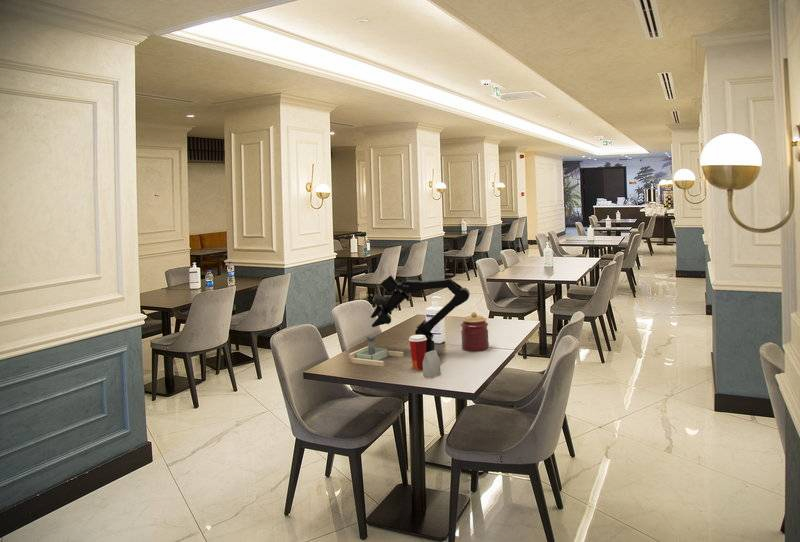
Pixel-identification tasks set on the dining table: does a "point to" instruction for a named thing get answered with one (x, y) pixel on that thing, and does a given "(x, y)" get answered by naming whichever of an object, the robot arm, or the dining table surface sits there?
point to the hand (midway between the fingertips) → (371, 321)
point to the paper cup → (418, 350)
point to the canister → (474, 333)
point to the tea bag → (431, 364)
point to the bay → (371, 362)
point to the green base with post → (372, 351)
